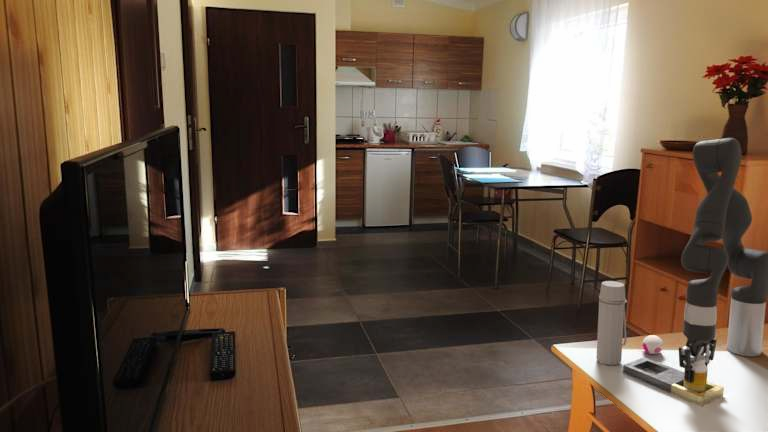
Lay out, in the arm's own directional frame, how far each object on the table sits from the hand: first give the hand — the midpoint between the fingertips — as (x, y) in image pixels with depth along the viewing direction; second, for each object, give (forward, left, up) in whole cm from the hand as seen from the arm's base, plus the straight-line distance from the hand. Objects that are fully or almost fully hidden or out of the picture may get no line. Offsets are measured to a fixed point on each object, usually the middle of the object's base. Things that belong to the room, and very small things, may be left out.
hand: (695, 378), depth 152 cm
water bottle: (+1, -25, -5) cm, 26 cm away
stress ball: (-15, -23, -5) cm, 28 cm away
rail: (0, -7, -4) cm, 8 cm away
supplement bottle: (0, 0, -4) cm, 4 cm away
